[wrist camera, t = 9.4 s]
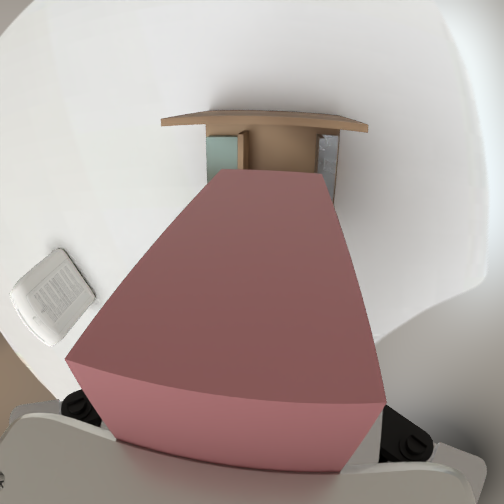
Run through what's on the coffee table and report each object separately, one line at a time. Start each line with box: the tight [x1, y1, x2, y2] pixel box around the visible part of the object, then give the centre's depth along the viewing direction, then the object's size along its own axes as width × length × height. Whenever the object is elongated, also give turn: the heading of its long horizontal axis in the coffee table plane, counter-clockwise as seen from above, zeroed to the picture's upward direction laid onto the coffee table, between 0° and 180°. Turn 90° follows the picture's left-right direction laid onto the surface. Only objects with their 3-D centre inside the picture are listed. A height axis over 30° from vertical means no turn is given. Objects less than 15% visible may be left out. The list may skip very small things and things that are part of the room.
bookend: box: [314, 134, 338, 203], centre depth 28 cm, size 10×2×4 cm, turn 179°
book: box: [65, 169, 387, 472], centre depth 10 cm, size 10×4×10 cm, turn 0°
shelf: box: [161, 110, 368, 203], centre depth 26 cm, size 14×13×12 cm
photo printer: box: [9, 249, 95, 347], centre depth 36 cm, size 10×4×12 cm, turn 27°
